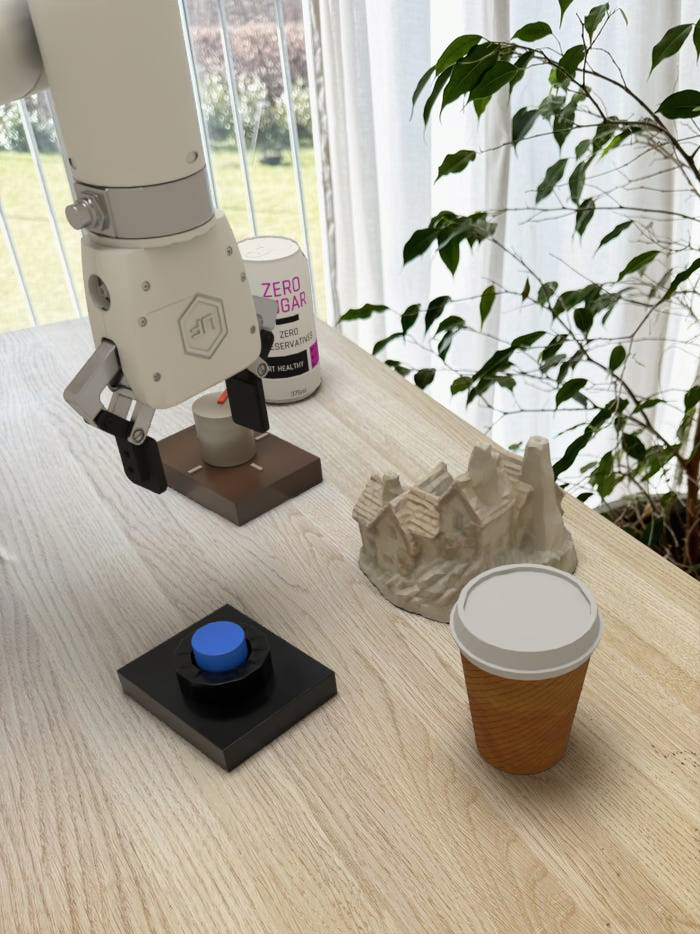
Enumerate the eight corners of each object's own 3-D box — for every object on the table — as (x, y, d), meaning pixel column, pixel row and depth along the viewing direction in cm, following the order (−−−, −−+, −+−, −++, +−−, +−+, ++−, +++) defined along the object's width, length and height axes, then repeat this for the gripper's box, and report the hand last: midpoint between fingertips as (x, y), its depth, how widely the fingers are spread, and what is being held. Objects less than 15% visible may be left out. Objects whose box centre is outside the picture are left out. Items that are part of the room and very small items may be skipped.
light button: (185, 658, 70) (180, 639, 69) (226, 632, 72) (222, 614, 71) (217, 681, 68) (213, 662, 67) (258, 654, 71) (255, 635, 69)
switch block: (123, 692, 73) (109, 651, 70) (231, 624, 79) (223, 584, 76) (228, 773, 67) (218, 731, 64) (338, 693, 73) (332, 652, 70)
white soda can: (278, 364, 113) (258, 227, 103) (337, 382, 109) (322, 242, 100) (229, 394, 107) (203, 252, 98) (289, 413, 104) (269, 269, 94)
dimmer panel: (145, 472, 95) (138, 448, 94) (228, 432, 101) (223, 408, 99) (239, 527, 89) (235, 501, 87) (323, 480, 94) (320, 456, 93)
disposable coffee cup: (424, 734, 70) (417, 599, 62) (526, 674, 74) (532, 541, 66) (515, 817, 64) (520, 680, 56) (619, 746, 69) (638, 611, 61)
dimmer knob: (246, 469, 91) (236, 416, 88) (193, 464, 92) (182, 412, 88) (263, 441, 95) (255, 390, 91) (213, 437, 95) (203, 386, 92)
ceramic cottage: (604, 564, 84) (605, 399, 74) (456, 657, 76) (436, 487, 67) (481, 498, 93) (467, 344, 84) (338, 575, 86) (305, 415, 76)
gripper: (67, 259, 52) (143, 531, 63) (294, 174, 63) (324, 420, 74) (-20, 232, 56) (66, 495, 67) (210, 155, 66) (251, 393, 77)
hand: (202, 455), depth 70 cm, fingers open, 9 cm apart
